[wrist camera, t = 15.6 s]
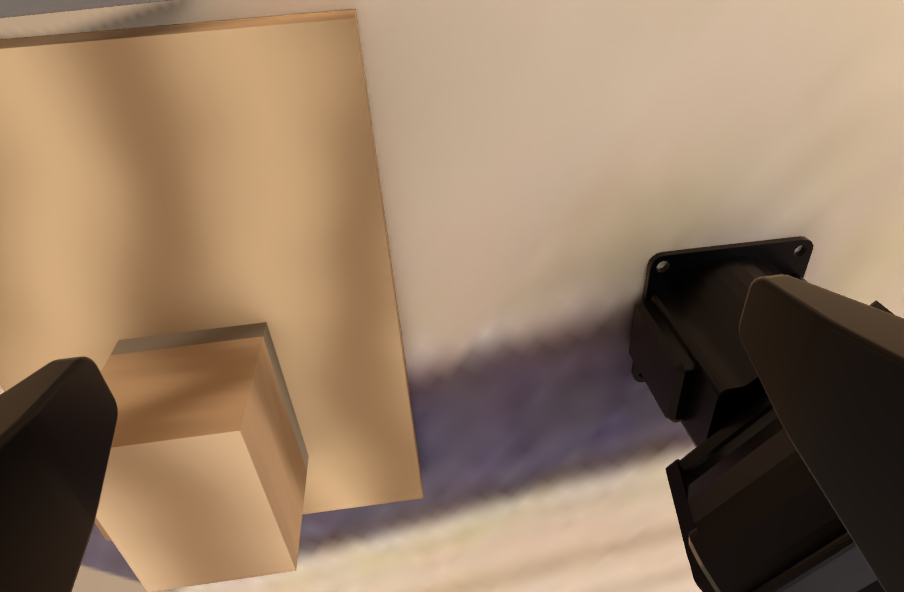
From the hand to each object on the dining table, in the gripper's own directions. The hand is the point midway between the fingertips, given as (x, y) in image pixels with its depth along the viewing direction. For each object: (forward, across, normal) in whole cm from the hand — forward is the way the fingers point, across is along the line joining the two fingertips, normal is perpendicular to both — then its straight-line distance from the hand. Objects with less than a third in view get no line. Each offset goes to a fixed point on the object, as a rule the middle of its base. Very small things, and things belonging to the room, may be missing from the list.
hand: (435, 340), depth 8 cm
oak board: (+12, +8, +8) cm, 16 cm away
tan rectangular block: (+10, +8, +10) cm, 17 cm away
